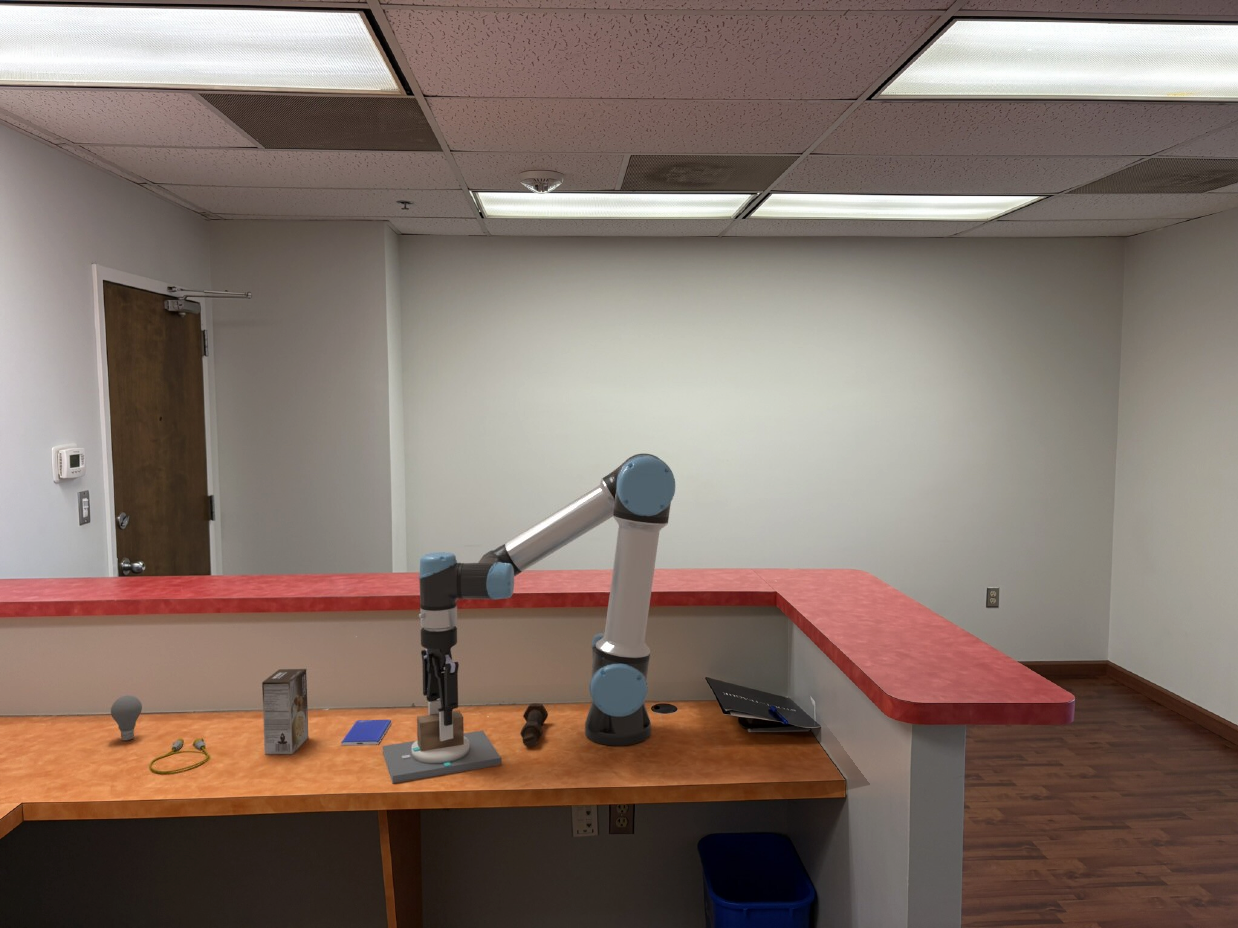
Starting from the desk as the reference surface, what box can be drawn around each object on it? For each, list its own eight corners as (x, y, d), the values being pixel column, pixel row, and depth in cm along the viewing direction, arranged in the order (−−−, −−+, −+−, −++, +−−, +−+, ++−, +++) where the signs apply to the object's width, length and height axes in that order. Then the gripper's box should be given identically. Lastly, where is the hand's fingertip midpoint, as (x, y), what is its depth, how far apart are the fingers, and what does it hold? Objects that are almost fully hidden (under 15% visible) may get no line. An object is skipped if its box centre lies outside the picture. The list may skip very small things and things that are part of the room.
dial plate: (483, 736, 185) (482, 729, 185) (501, 764, 170) (501, 756, 170) (382, 752, 177) (382, 744, 177) (392, 783, 162) (392, 774, 162)
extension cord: (232, 746, 181) (231, 737, 181) (186, 778, 166) (186, 768, 166) (181, 744, 183) (180, 735, 183) (131, 775, 167) (130, 765, 167)
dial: (456, 735, 182) (456, 702, 181) (478, 754, 172) (477, 719, 171) (403, 747, 175) (403, 713, 175) (423, 768, 165) (422, 731, 165)
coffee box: (280, 737, 185) (278, 668, 184) (309, 737, 185) (307, 668, 184) (263, 754, 176) (261, 681, 175) (293, 754, 176) (291, 681, 175)
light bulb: (105, 742, 182) (103, 698, 182) (129, 732, 188) (127, 690, 187) (125, 746, 180) (124, 701, 180) (149, 736, 186) (147, 693, 185)
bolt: (526, 757, 179) (533, 728, 193) (546, 746, 178) (551, 718, 193) (512, 735, 178) (520, 708, 193) (532, 724, 178) (539, 697, 193)
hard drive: (356, 719, 193) (340, 741, 181) (391, 719, 193) (378, 740, 181) (356, 726, 193) (341, 748, 181) (391, 725, 193) (378, 747, 181)
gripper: (405, 620, 177) (407, 726, 178) (440, 639, 162) (442, 753, 164) (437, 615, 181) (439, 718, 183) (474, 632, 167) (476, 744, 168)
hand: (440, 734), depth 173 cm, fingers closed on dial, 5 cm apart
